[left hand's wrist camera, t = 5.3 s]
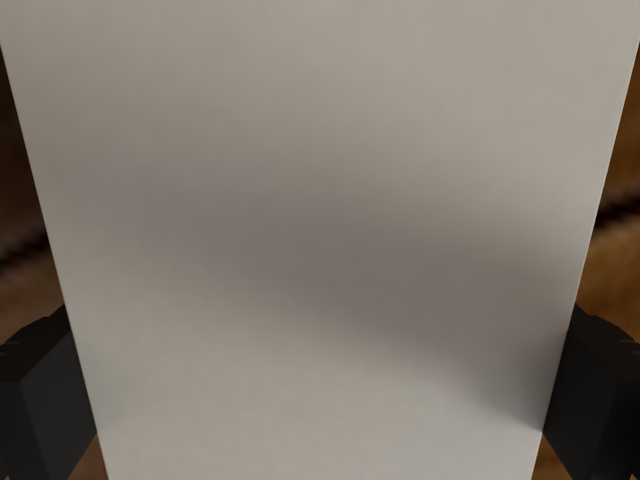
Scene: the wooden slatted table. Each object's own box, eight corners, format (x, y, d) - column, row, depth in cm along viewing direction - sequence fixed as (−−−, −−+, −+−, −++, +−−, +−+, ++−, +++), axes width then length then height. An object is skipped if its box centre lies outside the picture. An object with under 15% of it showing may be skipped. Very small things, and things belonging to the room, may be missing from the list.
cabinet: (157, -157, 13) (-177, -651, 4) (481, -157, 13) (814, -652, 4) (209, 318, 19) (116, 515, 10) (430, 318, 19) (522, 515, 10)
